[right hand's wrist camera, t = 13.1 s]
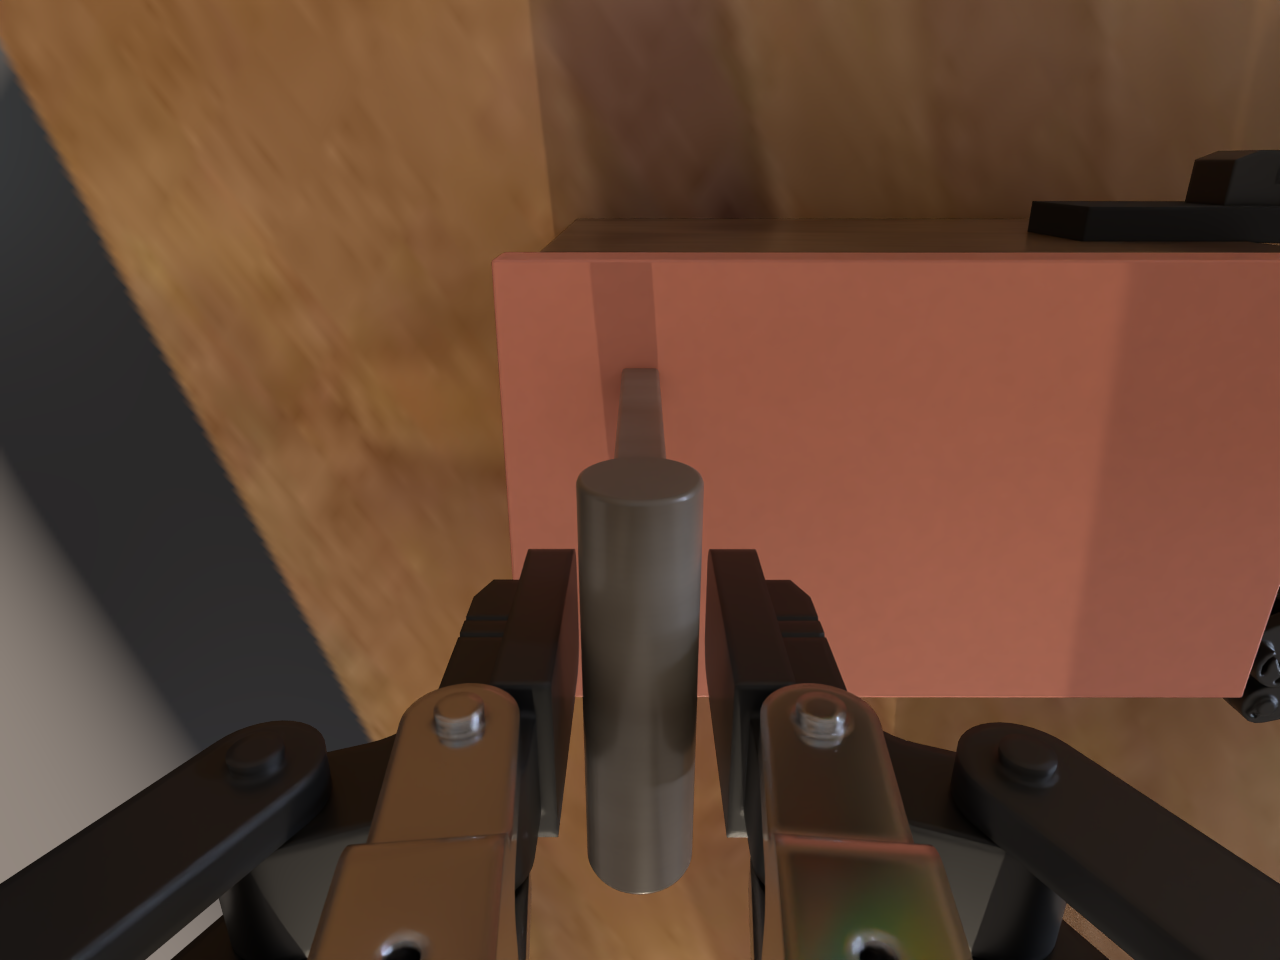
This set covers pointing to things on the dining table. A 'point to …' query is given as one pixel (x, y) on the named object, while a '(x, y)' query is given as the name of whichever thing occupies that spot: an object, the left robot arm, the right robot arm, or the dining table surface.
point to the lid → (890, 480)
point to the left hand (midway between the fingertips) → (1017, 428)
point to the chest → (849, 237)
